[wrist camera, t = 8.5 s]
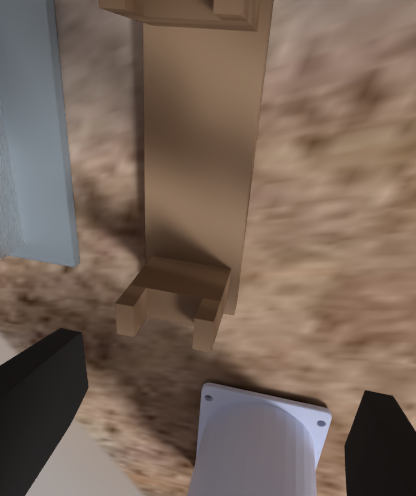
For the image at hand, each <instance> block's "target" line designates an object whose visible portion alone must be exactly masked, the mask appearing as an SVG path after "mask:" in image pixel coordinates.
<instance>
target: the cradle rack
mask: <svg viewBox="0 0 416 496" xmlns="http://www.w3.org/2000/svg"><path fill="white" fill-rule="evenodd" d="M273 1H274V0H99V8H101V9H104V10H107V11H110V12H113V13H116V14H119V15H122V16H125V17H128V18H131V19H134V20H137V21H140V22H143V66H144V165H145V263H146V265H145V266H144V268H143V269H142V270H141V271H140V273H139V274H138V275H137V276H136V278H135V279H134V280H133V281H132V283H131V284H130V285H129V287H128V288H127V289H126V290H125V292H124V293H123V294H122V295H121V297H120V298H119V299H118V300H117V302H116V303H115V308H116V326H117V334H121V335H126V336H131V337H135V335H136V334H137V332H138V330H139V329H140V327H141V325H142V324H143V322H144V321H145V319H146V317H150V318H155V319H160V320H165V321H170V322H176V323H181V324H186V325H191V326H194V331H193V348H192V349H194V350H199V351H204V352H209V353H211V351H212V348H213V345H214V341H215V338H216V335H217V332H218V328H219V325H220V322H221V318H222V315H223V313H224V314H229V315H234V313H235V309H236V305H237V297H238V289H239V281H240V272H241V264H242V256H243V248H244V240H245V231H246V223H247V215H248V207H249V198H250V190H251V182H252V174H253V166H254V157H255V149H256V141H257V133H258V125H259V116H260V108H261V100H262V92H263V84H264V75H265V67H266V59H267V51H268V43H269V34H270V26H271V18H272V10H273Z"/></svg>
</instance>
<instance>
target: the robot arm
mask: <svg viewBox="0 0 416 496" xmlns="http://www.w3.org/2000/svg"><path fill="white" fill-rule="evenodd" d="M87 390H88V380H87V372H86V364H85V356H84V348H83V340H82V332H77V331H72V330H67V329H63V328H60V329H58V330H57V331H55V332H53V333H52V334H50V335H48V336H47V337H45V338H44V339H42V340H40V341H39V342H37V343H36V344H34V345H32V346H31V347H29V348H28V349H26V350H24V351H23V352H21V353H20V354H18V355H16V356H15V357H13V358H12V359H10V360H9V361H7V362H5V363H4V364H2V365H0V496H25V495H26V493H27V492H28V490H29V488H30V487H31V485H32V484H33V482H34V481H35V479H36V478H37V476H38V475H39V473H40V471H41V470H42V468H43V467H44V465H45V464H46V462H47V461H48V459H49V457H50V456H51V454H52V453H53V451H54V449H55V448H56V446H57V445H58V443H59V442H60V440H61V439H62V437H63V435H64V434H65V432H66V431H67V429H68V427H69V426H70V424H71V422H72V420H73V418H74V416H75V414H76V412H77V410H78V408H79V406H80V404H81V402H82V400H83V398H84V396H85V394H86V392H87ZM208 395H209V396H208ZM331 419H332V417H331V412H330V410H329V409H327V408H325V407H320V406H316V405H311V404H307V403H302V402H297V401H293V400H288V399H284V398H279V397H274V396H270V395H265V394H261V393H256V392H251V391H247V390H242V389H238V388H233V387H228V386H224V385H219V384H215V383H205V384H204V385H203V387H202V391H201V404H200V416H199V428H198V441H197V453H196V463H195V466H194V470H193V474H192V478H191V482H190V486H189V490H188V493H187V496H317V491H316V467H317V464H318V461H319V458H320V454H321V451H322V448H323V445H324V442H325V438H326V435H327V432H328V429H329V426H330V422H331ZM320 420H321V421H320ZM345 471H346V489H347V496H416V431H415V430H414V428H413V426H412V425H411V423H410V422H409V420H408V419H407V417H406V415H405V414H404V412H403V411H402V409H401V407H400V406H399V404H398V403H397V401H396V400H395V398H394V397H393V396H391V395H386V394H381V393H376V392H371V391H366V390H365V392H364V394H363V397H362V400H361V403H360V405H359V408H358V411H357V414H356V416H355V419H354V422H353V424H352V427H351V430H350V433H349V435H348V438H347V441H346V443H345Z"/></svg>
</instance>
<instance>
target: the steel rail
mask: <svg viewBox="0 0 416 496" xmlns="http://www.w3.org/2000/svg"><path fill="white" fill-rule="evenodd" d="M24 245H25V240H24V234H23V228H22V222H21V216H20V211H19V205H18V199H17V193H16V187H15V181H14V175H13V170H12V164H11V158H10V152H9V146H8V140H7V134H6V129H5V123H4V117H3V111H2V105H1V99H0V260H1V259H3V258H5V257H6V256H8V255H9V254H11V253H12V252H14V251H16V250H17V249H19V248H20V247H22V246H24Z"/></svg>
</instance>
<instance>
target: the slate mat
mask: <svg viewBox="0 0 416 496" xmlns="http://www.w3.org/2000/svg"><path fill="white" fill-rule="evenodd" d="M0 99H1V105H2V111H3V117H4V123H5V129H6V134H7V140H8V146H9V152H10V158H11V164H12V170H13V175H14V181H15V187H16V193H17V199H18V205H19V211H20V216H21V222H22V228H23V234H24V240H25V245H24V246H22V247H20V248H19V249H17V250H16V251H14V252H12V253H11V254H9V255H8V256H13V257H19V258H25V259H30V260H36V261H42V262H47V263H53V264H59V265H64V266H70V267H75V266H77V265H78V264H79V263H80V259H79V249H78V239H77V229H76V219H75V209H74V199H73V189H72V179H71V169H70V159H69V149H68V139H67V129H66V119H65V109H64V99H63V89H62V79H61V69H60V59H59V49H58V39H57V29H56V19H55V9H54V0H0Z"/></svg>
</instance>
